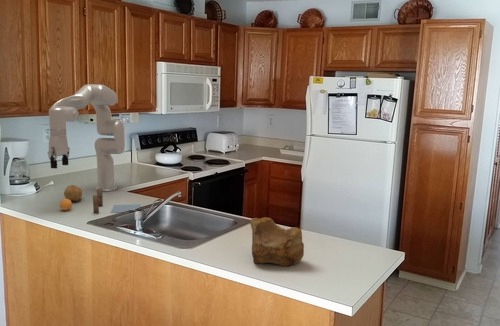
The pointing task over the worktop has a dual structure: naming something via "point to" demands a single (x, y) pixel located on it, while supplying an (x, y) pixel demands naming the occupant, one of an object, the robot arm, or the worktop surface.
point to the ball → (65, 204)
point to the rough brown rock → (275, 243)
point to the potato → (73, 193)
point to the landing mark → (124, 208)
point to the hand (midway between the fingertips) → (59, 166)
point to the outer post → (95, 204)
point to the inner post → (100, 197)
